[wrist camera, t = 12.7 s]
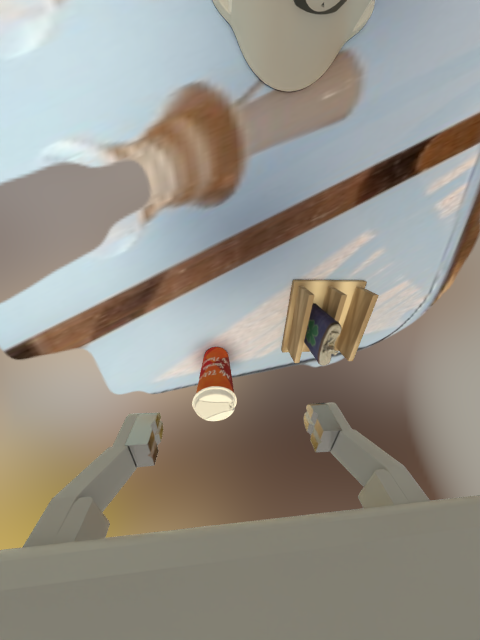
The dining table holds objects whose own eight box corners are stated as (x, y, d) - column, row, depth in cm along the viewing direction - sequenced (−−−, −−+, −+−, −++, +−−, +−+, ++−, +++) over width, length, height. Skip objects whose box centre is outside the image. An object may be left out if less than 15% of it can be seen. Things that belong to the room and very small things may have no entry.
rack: (281, 349, 46) (289, 366, 40) (292, 279, 38) (304, 289, 32) (340, 348, 47) (355, 364, 42) (363, 280, 39) (385, 289, 34)
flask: (309, 339, 44) (334, 372, 34) (297, 340, 43) (318, 373, 34) (319, 302, 40) (350, 328, 30) (305, 302, 39) (333, 328, 30)
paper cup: (230, 340, 43) (234, 389, 31) (234, 366, 47) (239, 419, 34) (195, 345, 43) (186, 396, 31) (202, 371, 46) (196, 426, 34)
